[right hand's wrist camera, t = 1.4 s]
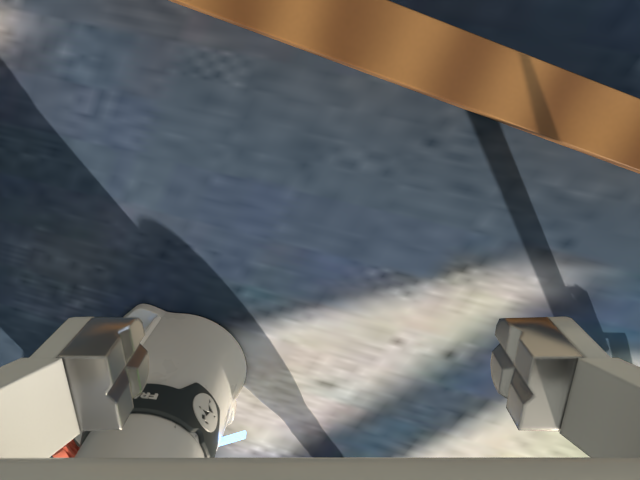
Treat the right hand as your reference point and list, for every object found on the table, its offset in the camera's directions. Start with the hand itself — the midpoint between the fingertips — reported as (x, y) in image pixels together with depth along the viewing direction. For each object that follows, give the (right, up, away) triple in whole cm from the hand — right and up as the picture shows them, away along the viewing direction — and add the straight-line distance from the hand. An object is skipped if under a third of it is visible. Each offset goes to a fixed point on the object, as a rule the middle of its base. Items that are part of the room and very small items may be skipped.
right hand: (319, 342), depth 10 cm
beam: (+11, +18, +32) cm, 39 cm away
